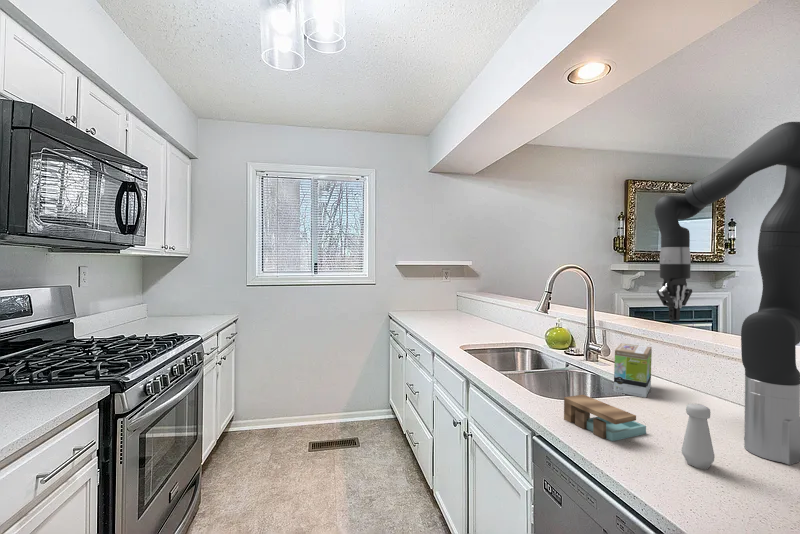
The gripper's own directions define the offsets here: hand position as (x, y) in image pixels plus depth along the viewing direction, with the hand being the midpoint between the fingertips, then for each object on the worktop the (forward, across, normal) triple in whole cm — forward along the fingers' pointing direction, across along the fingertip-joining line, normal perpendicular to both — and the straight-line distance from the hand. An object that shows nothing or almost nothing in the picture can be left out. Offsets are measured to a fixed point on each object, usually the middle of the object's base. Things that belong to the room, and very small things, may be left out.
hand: (674, 320), depth 115 cm
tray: (+27, -29, -4) cm, 40 cm away
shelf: (+27, -32, -2) cm, 42 cm away
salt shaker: (+27, -27, -23) cm, 45 cm away
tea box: (+27, +6, +18) cm, 33 cm away
